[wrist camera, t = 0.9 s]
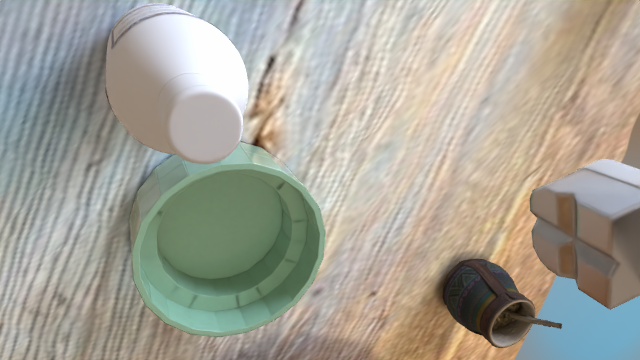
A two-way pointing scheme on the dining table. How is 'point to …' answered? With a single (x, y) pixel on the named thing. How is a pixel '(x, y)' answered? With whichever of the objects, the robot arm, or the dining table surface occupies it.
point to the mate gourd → (489, 303)
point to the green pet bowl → (224, 242)
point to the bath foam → (176, 83)
